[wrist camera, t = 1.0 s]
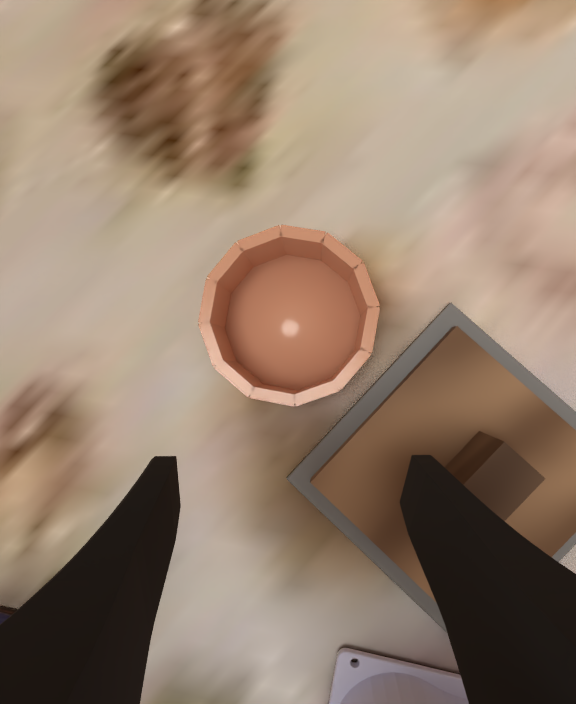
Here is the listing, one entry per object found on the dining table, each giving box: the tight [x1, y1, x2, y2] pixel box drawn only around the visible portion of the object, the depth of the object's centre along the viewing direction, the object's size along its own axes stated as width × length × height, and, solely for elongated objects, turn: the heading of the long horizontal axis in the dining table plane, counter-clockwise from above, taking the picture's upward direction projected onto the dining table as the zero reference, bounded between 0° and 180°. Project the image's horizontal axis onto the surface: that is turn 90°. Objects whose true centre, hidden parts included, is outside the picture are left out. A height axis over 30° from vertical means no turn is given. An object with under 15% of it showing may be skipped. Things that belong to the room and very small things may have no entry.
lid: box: [310, 326, 576, 602], centre depth 21 cm, size 12×12×4 cm
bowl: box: [198, 225, 380, 406], centre depth 22 cm, size 9×9×4 cm
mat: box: [287, 303, 576, 632], centre depth 23 cm, size 14×14×1 cm
